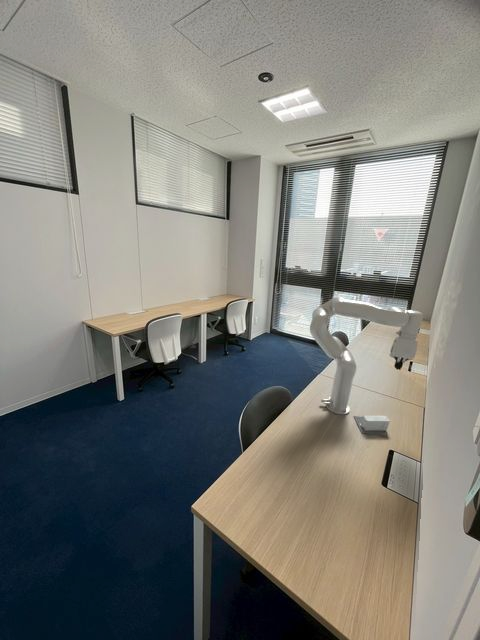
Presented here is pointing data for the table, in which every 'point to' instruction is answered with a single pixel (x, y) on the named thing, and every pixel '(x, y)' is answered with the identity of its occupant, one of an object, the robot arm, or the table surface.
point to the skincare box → (375, 423)
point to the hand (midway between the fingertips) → (397, 368)
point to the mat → (373, 432)
